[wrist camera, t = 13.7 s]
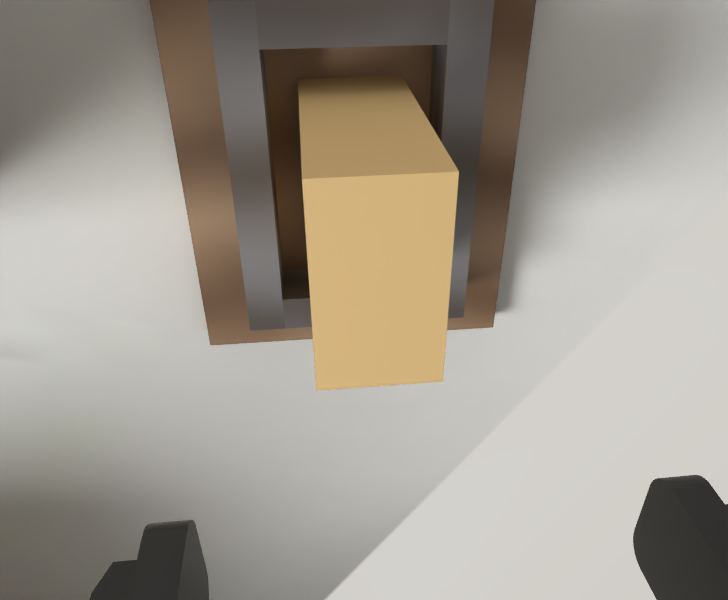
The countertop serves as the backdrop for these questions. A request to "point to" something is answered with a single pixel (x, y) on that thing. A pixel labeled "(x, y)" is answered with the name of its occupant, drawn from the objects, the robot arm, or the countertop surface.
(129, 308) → the countertop surface
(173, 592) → the robot arm
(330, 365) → the key block
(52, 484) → the countertop surface
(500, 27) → the slot base
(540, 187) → the countertop surface
